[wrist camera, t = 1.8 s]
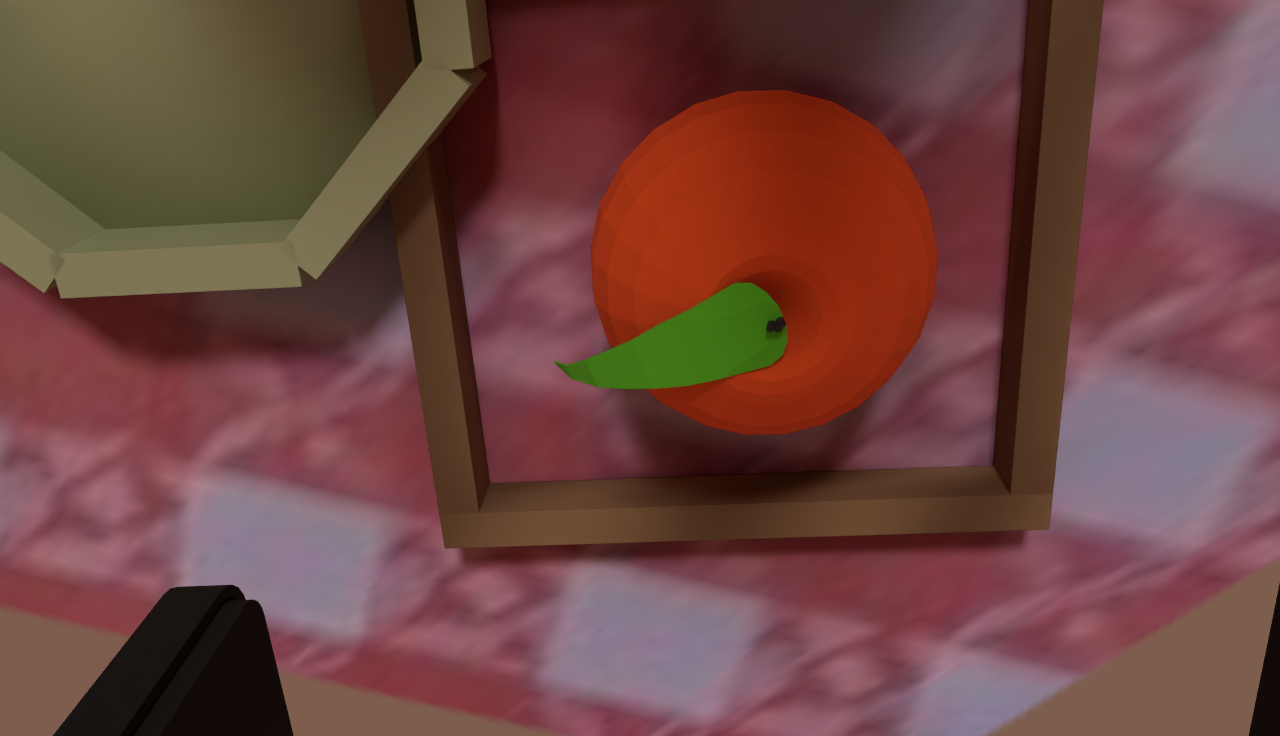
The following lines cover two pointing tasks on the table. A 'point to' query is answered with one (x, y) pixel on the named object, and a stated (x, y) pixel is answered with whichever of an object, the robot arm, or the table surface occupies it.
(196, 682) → the robot arm
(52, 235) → the dish
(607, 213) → the clementine
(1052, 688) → the table surface
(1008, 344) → the brown rectangular frame
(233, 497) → the table surface
